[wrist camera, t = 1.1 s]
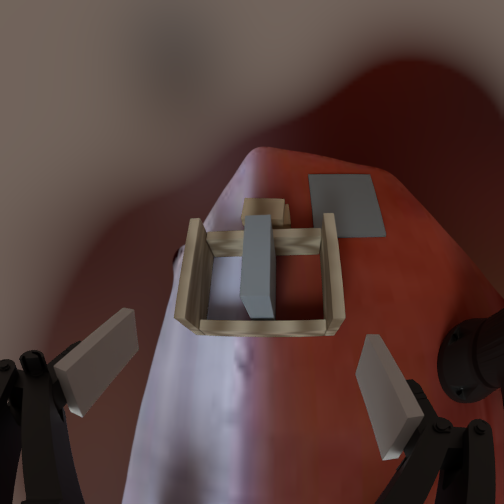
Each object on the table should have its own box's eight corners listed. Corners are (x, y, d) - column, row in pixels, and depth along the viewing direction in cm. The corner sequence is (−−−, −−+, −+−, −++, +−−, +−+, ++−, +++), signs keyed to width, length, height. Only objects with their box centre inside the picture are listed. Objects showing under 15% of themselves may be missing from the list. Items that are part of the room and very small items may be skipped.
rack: (327, 246, 50) (333, 212, 42) (334, 335, 42) (345, 317, 34) (206, 249, 53) (190, 218, 45) (196, 334, 45) (173, 317, 37)
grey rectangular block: (276, 258, 51) (270, 214, 39) (275, 323, 45) (269, 295, 34) (256, 259, 51) (245, 215, 40) (253, 323, 45) (239, 296, 34)
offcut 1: (284, 207, 51) (284, 198, 48) (283, 227, 48) (282, 219, 46) (246, 206, 52) (244, 197, 50) (243, 225, 50) (240, 217, 48)
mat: (369, 176, 58) (369, 174, 57) (385, 236, 50) (386, 235, 49) (308, 176, 59) (308, 174, 59) (314, 238, 52) (314, 236, 51)
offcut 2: (288, 212, 53) (288, 204, 51) (290, 231, 51) (290, 223, 49) (246, 215, 54) (244, 207, 52) (246, 235, 52) (244, 227, 50)
